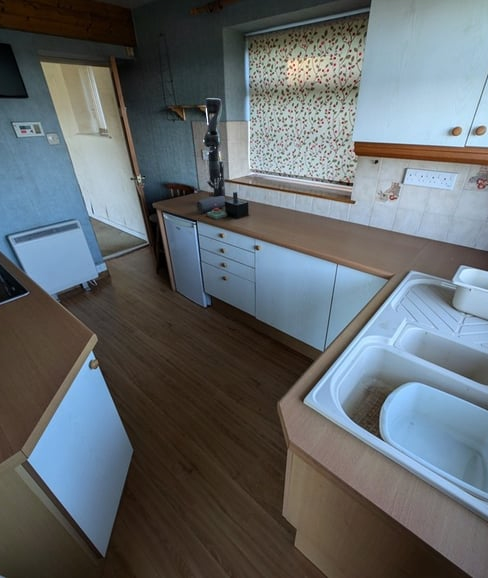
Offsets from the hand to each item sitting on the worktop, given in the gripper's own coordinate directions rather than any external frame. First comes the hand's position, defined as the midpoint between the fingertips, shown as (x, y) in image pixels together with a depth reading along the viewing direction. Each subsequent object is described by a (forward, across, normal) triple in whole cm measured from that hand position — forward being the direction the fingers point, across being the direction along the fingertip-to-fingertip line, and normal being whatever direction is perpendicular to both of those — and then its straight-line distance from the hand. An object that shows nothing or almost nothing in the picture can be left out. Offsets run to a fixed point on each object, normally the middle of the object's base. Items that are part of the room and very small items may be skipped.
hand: (216, 193), depth 209 cm
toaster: (+16, -11, +8) cm, 22 cm away
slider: (+6, -14, +4) cm, 16 cm away
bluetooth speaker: (+17, -4, -14) cm, 22 cm away
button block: (+16, +1, 0) cm, 16 cm away
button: (+13, +1, 0) cm, 13 cm away
